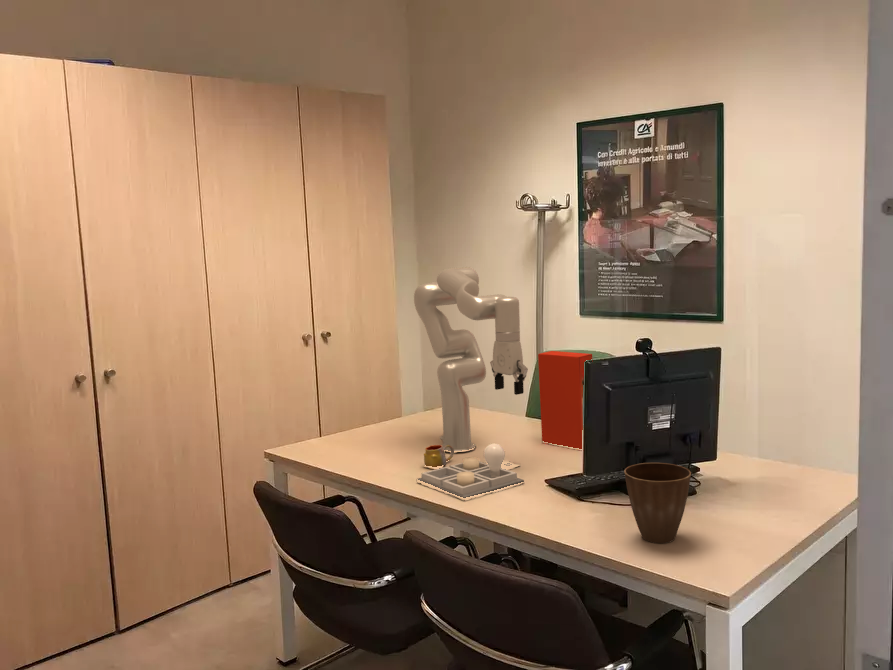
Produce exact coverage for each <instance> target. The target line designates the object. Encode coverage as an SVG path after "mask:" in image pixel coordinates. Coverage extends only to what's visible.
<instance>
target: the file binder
mask: <svg viewBox="0 0 893 670" xmlns="http://www.w3.org/2000/svg"><path fill="white" fill-rule="evenodd" d="M537 359H538V361H537V362H538V379H539V380H538V382H539V384H538V385H539V402H540V404H539V407H540V424H541V425H540V426H541V427H540V428H541V442H542V441H544V442H548V443H552V444H557V445H563V446H568V447H573V448H579V449H582V430H583V385H584V362H585V361H586V360H591V359H592V360H593V354H592V353H584V352H571V351H561V350H560V351H557V350H549V351H545V352H540V353H538V354H537Z"/></svg>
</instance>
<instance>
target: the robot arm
mask: <svg viewBox="0 0 893 670" xmlns="http://www.w3.org/2000/svg"><path fill="white" fill-rule="evenodd" d="M479 283H480V277H479V274H478V273H477V271H476V270H475V269H474V268H473V267H471V266H469V267H468V266H466V267H465V266H463V267H450V268H449V267H448V268H445V269H442V270H441V271H440V272H439V273H438V275H437V277H436V281H432V282H425V283H422V284H420V285H418V286H417V287H416V289H415V290H414V293H413V294H414V295H413V303H414V307H415V310H416V312H417V315H418V316H419V318H420V319H421V321H422V323H423V325H424V327H425V330H426V333H427V337H428V340H429V343H430V345H431V348H432V351H433V353H434V355H435V356H436V357H437V358H438V359H449V360H445V361H443V362H441V363H440V364H439V365H438V367H437V370H436V375H437V380H438V383H439V387H440V388H439V390H440V396H441V397H440V398H441V411H442V430H443V434H442V435H440V436H439V440H441V441H442V444H441V445H442V446H443V448H444V447H445V446H446V445H450V446H452V448H453V449H454V451H462V450H469V449H472V448H474V447H475V446H476V444H475V443H474V442H472V433H471V431H472V430H471V414H470V413H471V412H470V399H469V396H468V393H466V391H465V390H464V388H463V387H466V386H469V385H474V384H479V383H482V382H483V381H484V380H485V378H486V376H487V368H486V364H485V361H484V358H483V355H482V353H481V350H480V347H479V344H478V342H477V339H476V337H475V335H474V334H473V333H472V332H471V331H470V330H468V329H463V328H462V329H455V330H454V329H452V327H451V324H450V321H449V319H448V318H447V316H446V314H445V313H443V312H442V311H441V309H439V308H437V307H438V306H450V305H456V307H457V309H458V311H459V312H460V313H461V314H462V315H463V316H465V317H466V318H468V319H470V320H472V321H485V320H494V327H495V332H494V333H495V340H494V343H493V349H492V360H491V361H490V362H489V363H490V367H491V372H492V373H493V374H492V375H493V378H494V390H496V391H497V390H502V389H504V388H505V376H504V375H506V376H512V377H513V379H514V382H513V388H514V389H513V390H514V391H513V392H514V395H516V396H517V395H522V394H524V392H525V391H524V382H525V380H526V378H527V374H528V367H527V366H525V364H524V359H523V357H524V356H523V349H522V344H521V328H520V326H521V325H520V322H521V321H520V319H521V317H520V300H519V299H518V298H517V297H515V296H507V295H504V294H488V295H479V294H480V286H479ZM460 357H462V358H460ZM473 444H474V445H473ZM476 447H477V446H476ZM445 450H448V451H451V449H450V448H449V447H447V448H446V449H445Z"/></svg>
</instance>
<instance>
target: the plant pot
mask: <svg viewBox="0 0 893 670" xmlns="http://www.w3.org/2000/svg"><path fill="white" fill-rule="evenodd" d="M623 471H624V478H625V482H626V483H625V484H626V489H627V495H628V498H629V502H630V506H631V510H632V513H633V516H634V520H635V522H636V523H635V524H636V525H637V527H638V530H639V533H640V535H641V538H642V539H643V540H644V541H646V542H649V543H653V542H654V544H666V542H668V543H671V542H674V540H675V538H676V536H677V534H678V530H679V528H680V525H681V523H682V519H683V516H684V512H685V509H686V505H687V500H688V497H689V496H688V495H689V489H690V482H691V476H692V472H691V471H690V469H689V468H688V467H684V466H682V465H678V464H673V463H667V462H643V463H642V462H641V463H637V464H632V465H629V466H627V467H626V468H625V469H624V470H623ZM670 541H671V542H670Z"/></svg>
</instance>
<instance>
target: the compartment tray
mask: <svg viewBox="0 0 893 670" xmlns="http://www.w3.org/2000/svg"><path fill="white" fill-rule="evenodd" d="M420 476H421V477H419V478H417V479H418V480H420V481H423V482H425V483H428V484H431V485H433V486H435V487H438V488H440V489H442V490H444V491H447V492H449V493H452V494H455V495H457V496H460V497H463V498H466V497H470V496H474V495H478V494H482V493H486V492H490V491H494V490H497V489H501V488H504V487H507V486H510V485H514V484H518V483H521V482H524V483H525V479H522V478H519V477H518V473H517V472H515V471H512V470H506V469H502V468H500V477H496V478H491V470H490V468H489V465H488V464H486V462H482V461H480V458H478V457H475V456H469V457H465V458H462V462H460V463H455V464H452V465H449V466H444V467H443V468H439V469H435V470H434V469H431V470H428V471H425V472H421V474H420Z"/></svg>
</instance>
